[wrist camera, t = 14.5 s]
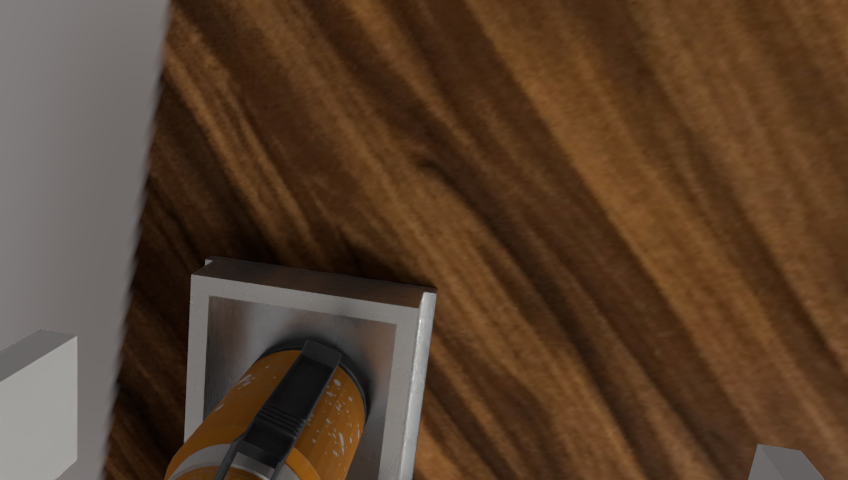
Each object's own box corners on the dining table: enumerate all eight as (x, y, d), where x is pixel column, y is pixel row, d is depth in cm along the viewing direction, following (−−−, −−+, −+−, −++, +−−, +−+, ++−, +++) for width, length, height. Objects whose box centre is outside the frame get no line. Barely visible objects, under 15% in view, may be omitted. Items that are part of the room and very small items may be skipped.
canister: (229, 421, 49) (56, 642, 30) (284, 289, 46) (132, 438, 27) (342, 473, 49) (242, 728, 30) (403, 344, 46) (337, 533, 27)
